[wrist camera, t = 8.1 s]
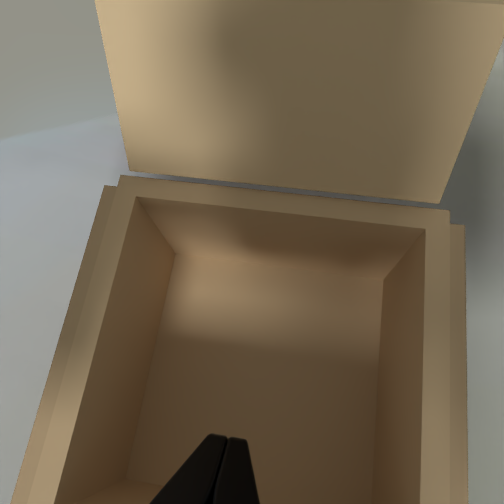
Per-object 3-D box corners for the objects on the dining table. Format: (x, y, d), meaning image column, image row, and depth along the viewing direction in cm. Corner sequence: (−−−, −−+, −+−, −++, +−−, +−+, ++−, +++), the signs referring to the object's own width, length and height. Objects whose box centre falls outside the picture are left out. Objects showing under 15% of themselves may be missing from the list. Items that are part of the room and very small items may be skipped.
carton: (397, 563, 17) (470, 660, 11) (94, 504, 19) (-6, 558, 12) (407, 271, 21) (464, 212, 15) (157, 240, 23) (108, 173, 16)
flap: (516, 5, 10) (509, -1, 11) (90, -20, 12) (99, -24, 12) (439, 204, 15) (436, 193, 15) (129, 170, 16) (135, 162, 16)
